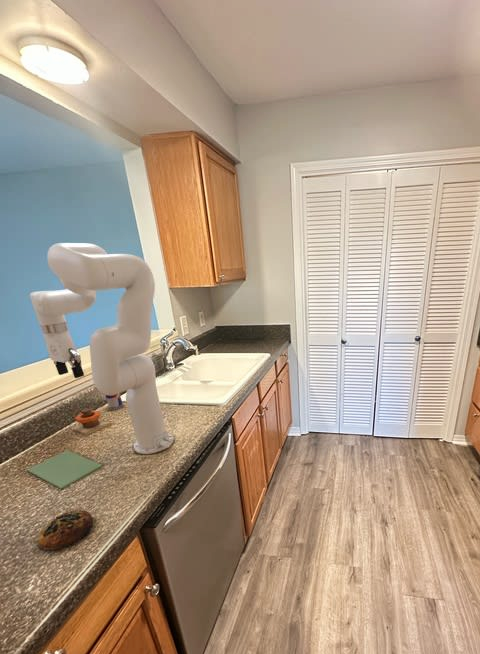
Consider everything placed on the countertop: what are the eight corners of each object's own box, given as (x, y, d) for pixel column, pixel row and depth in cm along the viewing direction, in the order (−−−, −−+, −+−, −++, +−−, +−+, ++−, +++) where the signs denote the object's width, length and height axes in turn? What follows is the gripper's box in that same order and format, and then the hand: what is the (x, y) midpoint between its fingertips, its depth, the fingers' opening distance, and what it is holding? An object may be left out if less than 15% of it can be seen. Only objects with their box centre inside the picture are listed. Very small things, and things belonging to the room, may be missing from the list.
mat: (102, 466, 100) (102, 465, 100) (61, 489, 91) (60, 487, 91) (67, 451, 110) (67, 450, 109) (27, 470, 100) (26, 469, 100)
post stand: (110, 424, 127) (104, 407, 124) (86, 435, 120) (80, 417, 117) (96, 420, 131) (91, 403, 128) (73, 430, 124) (67, 412, 121)
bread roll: (84, 545, 72) (74, 528, 70) (31, 560, 70) (19, 544, 68) (102, 512, 82) (93, 496, 80) (56, 525, 80) (46, 509, 79)
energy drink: (117, 410, 139) (109, 384, 134) (106, 409, 140) (98, 384, 135) (125, 405, 144) (118, 379, 139) (115, 404, 145) (107, 379, 140)
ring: (104, 416, 125) (103, 412, 124) (84, 424, 119) (83, 421, 118) (93, 412, 128) (91, 409, 128) (73, 420, 122) (71, 417, 122)
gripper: (29, 329, 112) (47, 375, 119) (58, 332, 105) (75, 381, 112) (52, 325, 118) (68, 369, 125) (81, 327, 111) (96, 374, 118)
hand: (71, 375), depth 118 cm, fingers open, 9 cm apart
